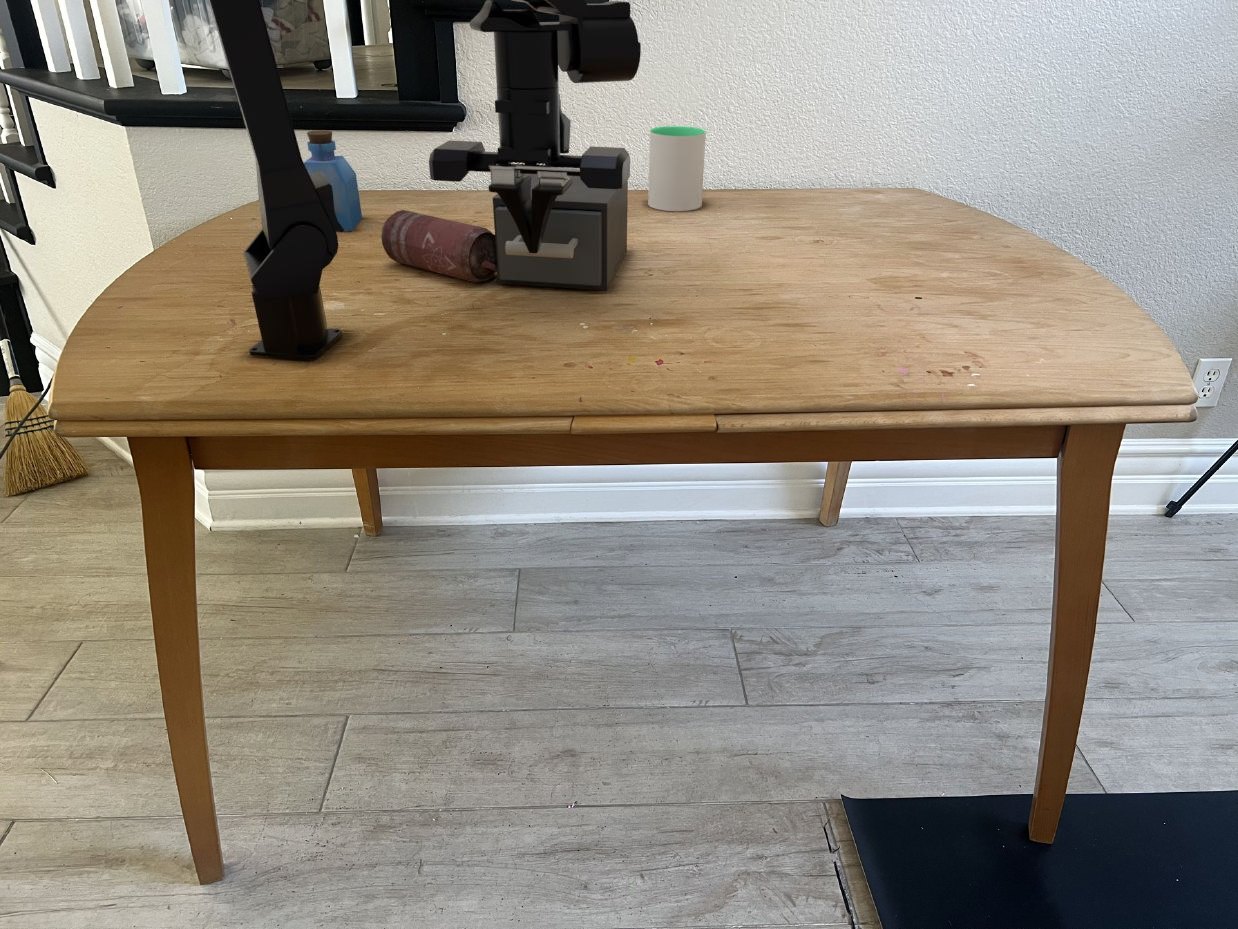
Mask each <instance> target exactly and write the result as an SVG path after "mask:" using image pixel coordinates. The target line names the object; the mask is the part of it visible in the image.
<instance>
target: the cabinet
mask: <svg viewBox="0 0 1238 929" xmlns="http://www.w3.org/2000/svg"><path fill="white" fill-rule="evenodd" d="M524 175H531V203H532V189H533V188H534V187H535V186H536V185H537V184H538V183H539V179H538V176H537V174H524ZM571 177H572V178H573V182H572V185H571V186H570V187H569V188H568V189H567V190H566V192H565V193H564V194H563V195H559V196H557V197H556V200H555V202H554V204H553V207H552V208H562V209H581V210H600V212H602V283H601V284H600V286H596V285H580V284H564V283H548V282H532V281H516V280H500V274H499V259H498V243H497V228H496V212H495V209H496V208H497V207H506V206H505V204H504V203H503V201H502V199H501V198H500V196H499V194H498V193H496V194H495V195H494V196H493V197H492V212H493V226H494V229H493V230H494V235H495V244H496V259H497V273H496V274H497V283H498V285H515V286H530V287H544V288H545V287H549V288H561V289H562V288H563V289H577V290H579V289H580V290H594V291H608V290H609V288H610V285H611V284H612V282H613V280H614V278H615V276H616V274H617V272H618V270H619V268H620V266H621V264H622V262H623V260H624V258H625V256H626V254H627V252H628V206H629V205H628V204H629V203H628V201H629V200H628V197H629V196H628V195H629V194H628V193H629V190H628V189H629V181H628V180H627V182H626V183H625V185H624V186H623V188H621V189H598V188H588V187H587V186H586V185H585V184H584V183H583V182H582V181H581V179H580V176H571Z"/></svg>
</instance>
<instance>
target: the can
mask: <svg viewBox="0 0 1238 929" xmlns="http://www.w3.org/2000/svg"><path fill="white" fill-rule="evenodd" d="M380 238H381V245H382V247H383V250H384V252H385V253H386V255H387V256H388V257H389V258H390V259H391V260H393V261H394V262H396V263H399V264H404V265H407V266H410V267H415V268H419V269H421V270H422V269H423V270H425V271H431V272H434V273H436V274H437V273H438V274H442V275H445V276H448V277H453V278H457V279H460V280H464V281H468V282H472V283H480V282H485V281H487V280H490V279H491V278H492V277H494V276H495V274H497V259H496V244H495V233H493V232H492V231H491V230H490V229H488V228H486V227H482V226H478V225H473V224H469V223H466V222H465V223H464V222H460V221H456V220H451V219H447V218H442V217H438V216H433V215H428V214H424V213H420V212H416V211H411V210H405V209H400V210H397V211H395V212H394V213H392V214H391V215H389V217H388V218H387V219H386V220H385V221H384V224H383V226H382V230H381V237H380Z"/></svg>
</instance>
